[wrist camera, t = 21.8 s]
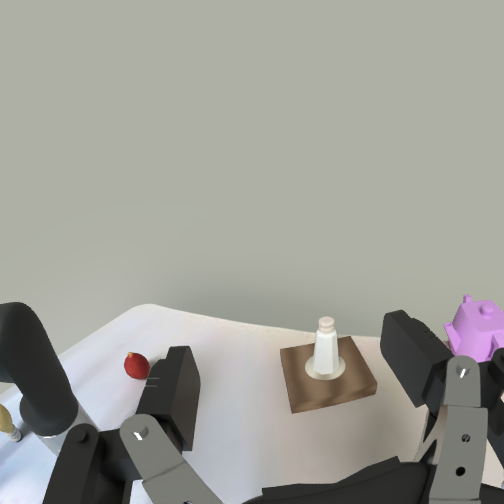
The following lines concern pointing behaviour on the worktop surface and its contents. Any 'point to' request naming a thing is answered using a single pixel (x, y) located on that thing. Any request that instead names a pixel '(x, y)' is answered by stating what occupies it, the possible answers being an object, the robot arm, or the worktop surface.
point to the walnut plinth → (325, 377)
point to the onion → (136, 366)
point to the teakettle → (476, 329)
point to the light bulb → (8, 425)
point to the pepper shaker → (326, 347)
